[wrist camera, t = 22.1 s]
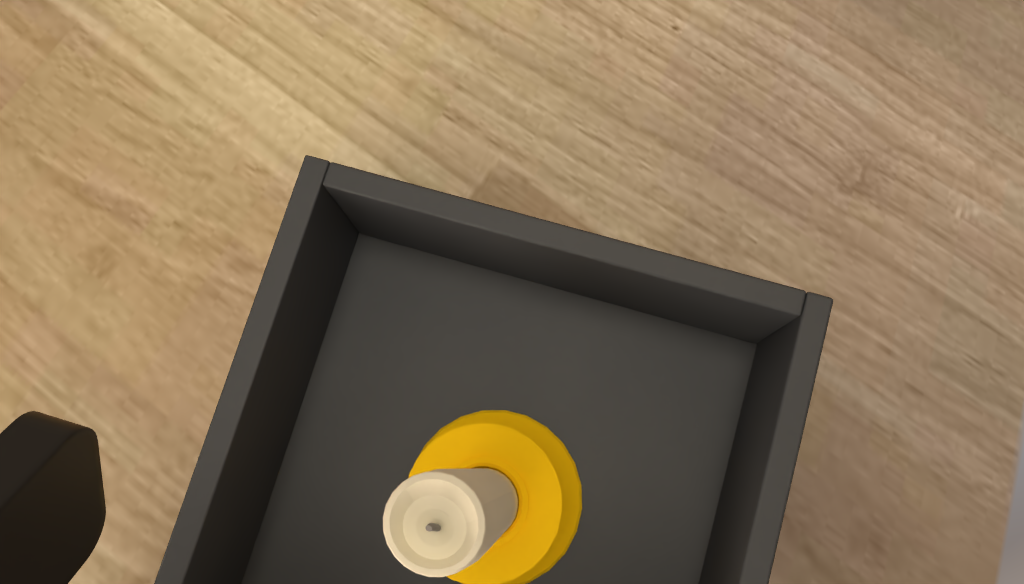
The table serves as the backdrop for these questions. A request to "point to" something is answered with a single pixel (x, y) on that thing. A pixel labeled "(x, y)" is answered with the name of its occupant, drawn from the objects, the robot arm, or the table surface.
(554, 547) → the candle
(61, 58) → the table surface
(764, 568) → the dark grey open box
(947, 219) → the table surface
